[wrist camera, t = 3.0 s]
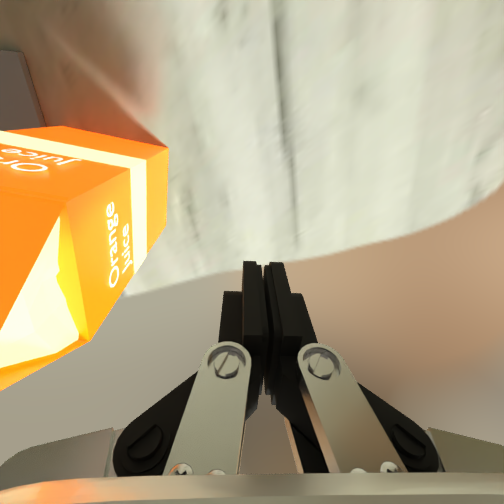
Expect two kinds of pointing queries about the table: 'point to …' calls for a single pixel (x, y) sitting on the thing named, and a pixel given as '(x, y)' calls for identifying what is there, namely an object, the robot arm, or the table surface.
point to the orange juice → (70, 236)
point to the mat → (17, 94)
